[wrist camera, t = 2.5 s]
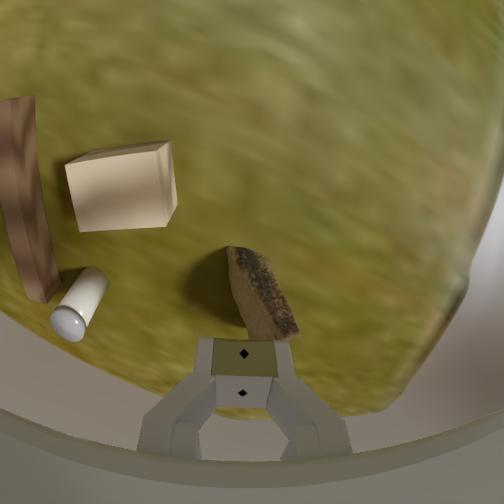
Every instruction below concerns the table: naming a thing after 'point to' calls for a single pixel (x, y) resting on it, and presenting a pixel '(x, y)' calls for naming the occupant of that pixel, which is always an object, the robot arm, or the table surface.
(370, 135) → the table surface
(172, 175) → the maple block
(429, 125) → the table surface
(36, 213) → the brown wooden bar
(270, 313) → the rock
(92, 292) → the salt shaker
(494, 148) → the table surface
